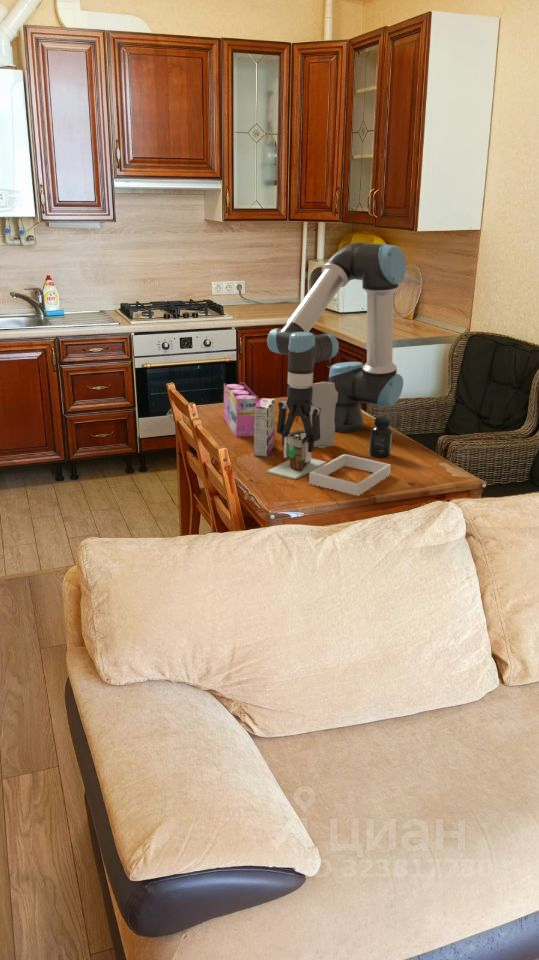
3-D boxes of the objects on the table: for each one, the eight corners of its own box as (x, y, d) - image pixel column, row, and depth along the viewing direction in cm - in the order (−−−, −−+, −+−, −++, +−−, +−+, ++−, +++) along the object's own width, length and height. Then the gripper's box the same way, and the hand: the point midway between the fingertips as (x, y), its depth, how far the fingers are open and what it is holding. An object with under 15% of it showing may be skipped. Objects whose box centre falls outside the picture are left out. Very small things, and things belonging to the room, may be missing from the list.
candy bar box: (259, 445, 258) (260, 397, 253) (274, 446, 258) (276, 398, 252) (252, 456, 248) (253, 406, 242) (267, 457, 247) (269, 407, 241)
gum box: (222, 418, 288) (222, 382, 283) (242, 416, 290) (243, 381, 285) (236, 437, 266) (236, 398, 262) (258, 436, 268) (259, 397, 264)
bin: (343, 464, 243) (344, 453, 241) (390, 475, 235) (390, 464, 233) (309, 483, 226) (309, 472, 225) (357, 496, 218) (358, 484, 217)
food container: (293, 457, 245) (293, 427, 241) (311, 460, 243) (312, 429, 240) (280, 470, 234) (281, 438, 230) (300, 472, 232) (301, 441, 229)
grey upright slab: (332, 443, 263) (336, 379, 255) (337, 446, 259) (341, 382, 251) (303, 445, 260) (305, 380, 252) (307, 449, 256) (310, 383, 248)
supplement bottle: (394, 455, 252) (397, 420, 248) (379, 459, 248) (382, 423, 244) (379, 450, 257) (382, 415, 253) (364, 454, 253) (367, 418, 249)
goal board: (298, 457, 248) (298, 455, 248) (325, 463, 243) (325, 461, 243) (267, 472, 234) (267, 470, 234) (295, 479, 229) (295, 477, 229)
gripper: (335, 388, 228) (331, 462, 236) (279, 378, 238) (277, 449, 246) (322, 393, 222) (318, 469, 230) (265, 382, 232) (263, 455, 240)
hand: (297, 458), depth 238 cm, fingers closed on food container, 7 cm apart
